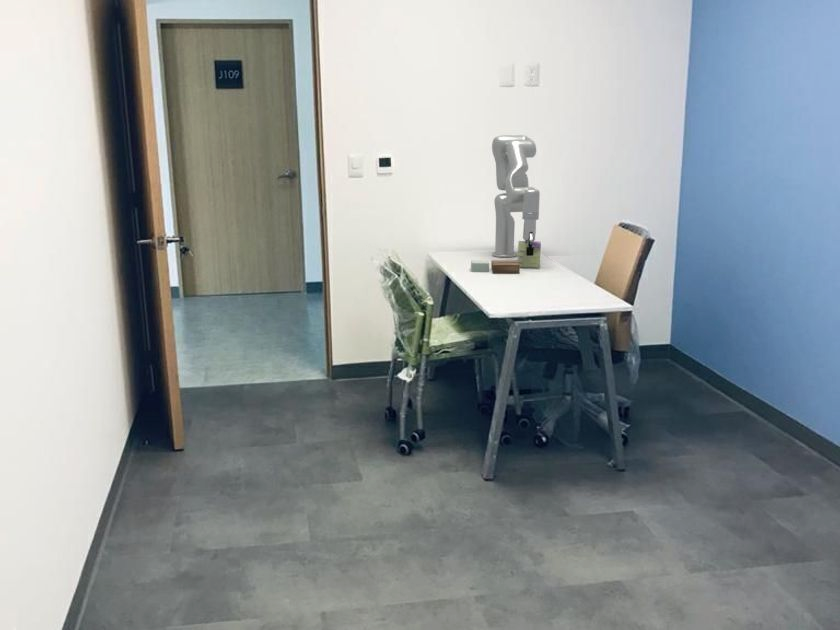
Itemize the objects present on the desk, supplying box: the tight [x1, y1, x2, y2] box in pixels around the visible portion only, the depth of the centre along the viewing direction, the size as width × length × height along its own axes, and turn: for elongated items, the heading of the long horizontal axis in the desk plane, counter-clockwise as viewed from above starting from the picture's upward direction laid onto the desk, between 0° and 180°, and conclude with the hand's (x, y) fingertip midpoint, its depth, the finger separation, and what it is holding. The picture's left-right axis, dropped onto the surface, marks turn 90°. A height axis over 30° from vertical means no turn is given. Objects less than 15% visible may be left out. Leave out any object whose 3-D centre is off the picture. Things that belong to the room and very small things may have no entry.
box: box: [517, 240, 542, 269], centre depth 376 cm, size 10×6×12 cm, turn 84°
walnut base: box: [490, 259, 521, 275], centre depth 368 cm, size 12×12×4 cm
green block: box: [470, 259, 490, 273], centre depth 370 cm, size 8×8×4 cm
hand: (529, 253), depth 376 cm, fingers closed on box, 5 cm apart
